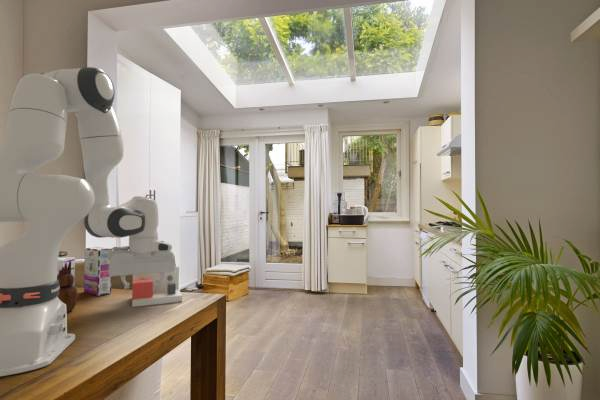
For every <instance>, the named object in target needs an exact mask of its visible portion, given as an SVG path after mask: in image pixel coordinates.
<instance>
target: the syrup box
mask: <svg viewBox="0 0 600 400" xmlns="http://www.w3.org/2000/svg"><path fill="white" fill-rule="evenodd" d="M69 261H71V274H72V275H73V276H74V283H73V285H72V286H75V283H76V282H75V281H76V280H75V279H76V278H75V277H76V276H75V275H76V269H75V268H76V257H75V256H63V257H58V267H57V276H58V274H59V270H62V267H65V263H67V268H68V265H69Z"/></svg>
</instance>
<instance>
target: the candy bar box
mask: <svg viewBox="0 0 600 400" xmlns="http://www.w3.org/2000/svg"><path fill="white" fill-rule="evenodd" d="M110 249H111V248H109V247H100V246H93V247H85V248H84V274H83V275H84V277H83V279H84V280H83V292H84V293H87V294H90V295H94V296H97V297H101V296H105V295H111V294H112V276H110V275H109V274H108V270H109V263H110V261H109V260H108V251H109V250H110Z"/></svg>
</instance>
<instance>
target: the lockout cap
mask: <svg viewBox="0 0 600 400" xmlns="http://www.w3.org/2000/svg"><path fill="white" fill-rule="evenodd" d="M131 291H132V293H131V294H132V296H131V298H132V299H141V298H151V297H153V281H152V279H147V280H135V281H133V280H132V290H131ZM132 299H131V300H132Z"/></svg>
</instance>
